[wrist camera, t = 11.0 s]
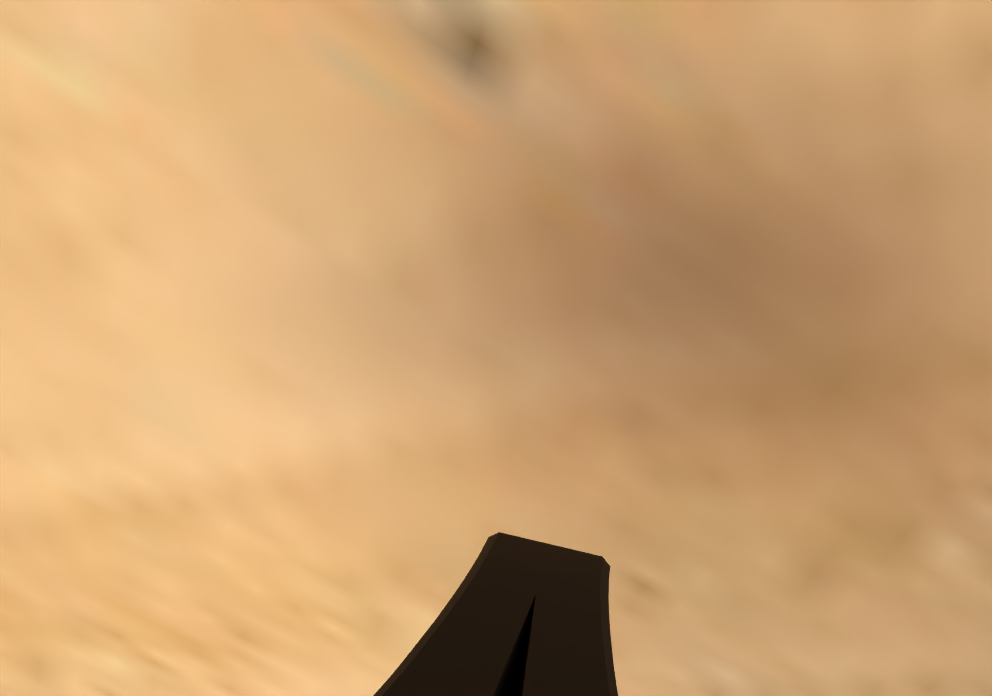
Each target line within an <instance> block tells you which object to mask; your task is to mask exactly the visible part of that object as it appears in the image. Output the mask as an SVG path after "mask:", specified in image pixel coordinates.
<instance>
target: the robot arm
mask: <svg viewBox="0 0 992 696" xmlns="http://www.w3.org/2000/svg"><path fill="white" fill-rule="evenodd" d="M609 572H610V566H609V564H608V563H607V562H606V561H605V559H604V558H603V557H602V556H597V555H593V554H589V553H585V552H580V551H576V550H572V549H568V548H564V547H559V546H555V545H551V544H547V543H542V542H538V541H534V540H530V539H525V538H521V537H517V536H513V535H508V534H504V533H500V532H499V533H497V534H494V535H492V536H490V537H489V538H488V539H487V541H486V543H485V545H484V547H483V549H482V551H481V553H480V555H479V556H478V558H477V560H476V561H475V563H474V565H473V566H472V568H471V569H470V571H469V573H468V574H467V576H466V577H465V579H464V580H463V582H462V583H461V585H460V586H459V588H458V589H457V591H456V592H455V594H454V595H453V596H452V598H451V599H450V601H449V602H448V603H447V605H446V606H445V608H444V609H443V610H442V612H441V613H440V615H439V616H438V617H437V619H436V620H435V621H434V623H433V624H432V625H431V626H430V628H429V629H428V630H427V632H426V633H425V634H424V635H423V637H422V638H421V639H420V640H419V642H418V643H417V644H416V645H415V647H414V648H413V649H412V651H411V652H410V653H409V654H408V656H407V657H406V658H405V659H404V661H403V662H402V663H401V664H400V666H399V667H398V668H397V669H396V670H395V672H394V673H393V674H392V675H391V676H390V678H389V679H388V680H387V681H386V682H385V683H384V684H383V686H382V687H381V688H380V689H379V690H378V691H377V692H376V693H375V694H374V696H618V692H617V686H616V679H615V672H614V665H613V655H612V646H611V636H610V623H609V601H608V595H609Z"/></svg>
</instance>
